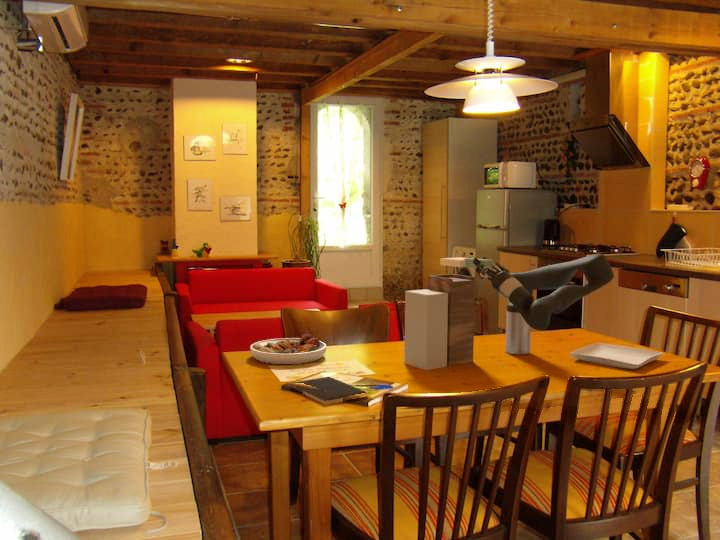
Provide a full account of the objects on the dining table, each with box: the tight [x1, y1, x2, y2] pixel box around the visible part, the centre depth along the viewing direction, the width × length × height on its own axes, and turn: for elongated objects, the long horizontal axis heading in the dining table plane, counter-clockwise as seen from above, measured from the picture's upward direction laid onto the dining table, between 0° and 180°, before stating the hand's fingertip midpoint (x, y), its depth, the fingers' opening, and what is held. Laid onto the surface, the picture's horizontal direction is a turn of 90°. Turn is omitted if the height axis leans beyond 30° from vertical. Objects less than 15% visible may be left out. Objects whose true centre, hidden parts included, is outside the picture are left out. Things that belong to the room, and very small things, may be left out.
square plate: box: [569, 342, 664, 370], centre depth 268 cm, size 27×27×4 cm
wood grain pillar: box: [427, 273, 476, 367], centre depth 264 cm, size 13×12×33 cm
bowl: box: [249, 333, 327, 365], centre depth 270 cm, size 30×30×8 cm
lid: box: [439, 256, 494, 270], centre depth 254 cm, size 21×10×3 cm, turn 35°
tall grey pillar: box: [404, 288, 448, 371], centre depth 258 cm, size 13×10×28 cm
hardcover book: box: [292, 376, 367, 406], centre depth 221 cm, size 16×23×2 cm
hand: (478, 259), depth 250 cm, fingers closed on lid, 4 cm apart
